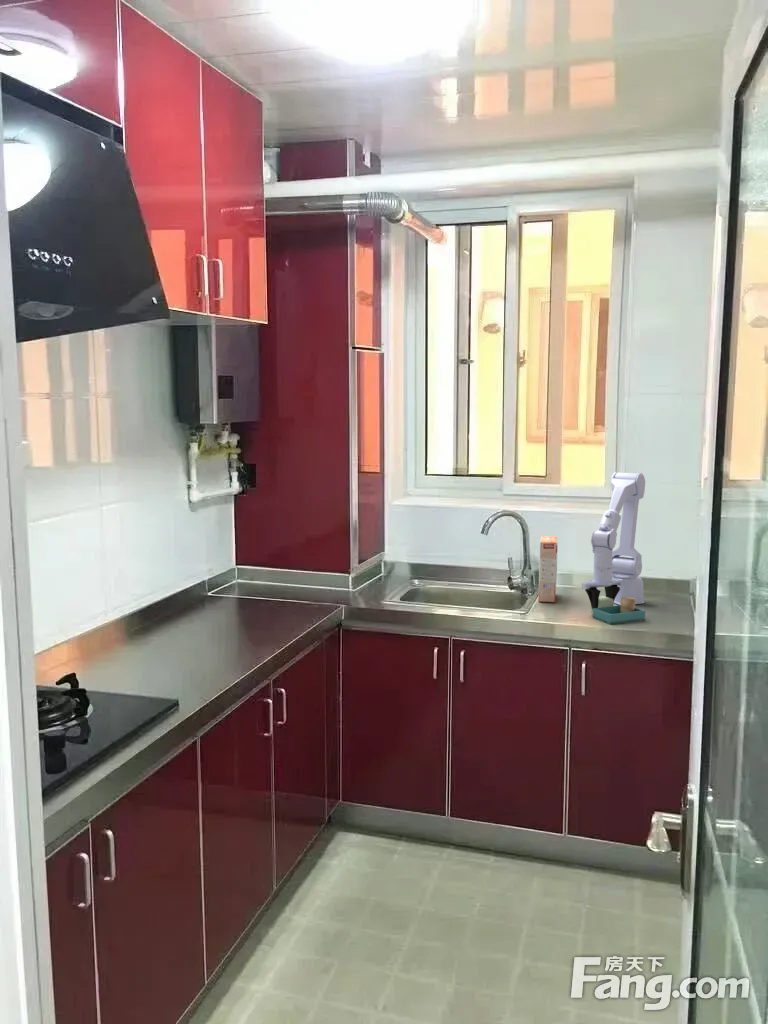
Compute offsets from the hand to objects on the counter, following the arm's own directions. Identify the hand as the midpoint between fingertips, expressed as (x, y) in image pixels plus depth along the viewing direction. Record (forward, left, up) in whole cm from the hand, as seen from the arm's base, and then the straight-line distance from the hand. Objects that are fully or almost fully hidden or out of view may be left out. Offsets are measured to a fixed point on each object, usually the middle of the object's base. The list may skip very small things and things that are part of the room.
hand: (601, 609), depth 281 cm
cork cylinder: (-4, +8, -1) cm, 9 cm away
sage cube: (0, 0, -1) cm, 1 cm away
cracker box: (+4, -26, -2) cm, 26 cm away
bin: (-1, +8, -1) cm, 8 cm away
